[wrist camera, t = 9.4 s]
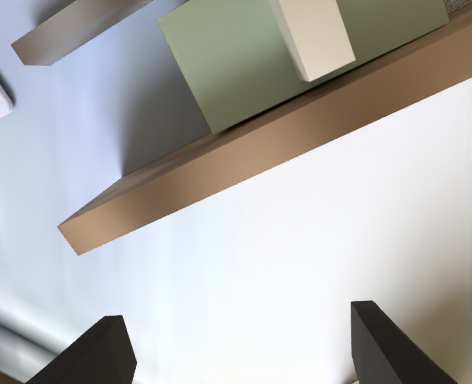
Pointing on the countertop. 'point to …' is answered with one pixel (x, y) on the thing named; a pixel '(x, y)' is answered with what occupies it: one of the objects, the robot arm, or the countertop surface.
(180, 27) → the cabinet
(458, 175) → the countertop surface
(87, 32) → the wall board
